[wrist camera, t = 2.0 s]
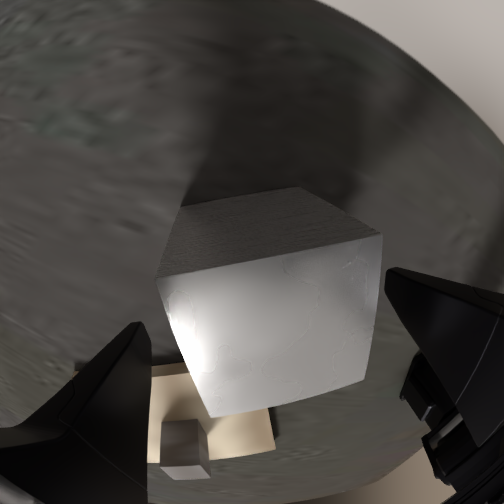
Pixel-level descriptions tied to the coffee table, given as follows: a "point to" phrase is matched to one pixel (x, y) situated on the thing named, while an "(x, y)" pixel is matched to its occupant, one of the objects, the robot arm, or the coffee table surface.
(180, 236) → the grey block
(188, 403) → the post board
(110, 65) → the coffee table surface
